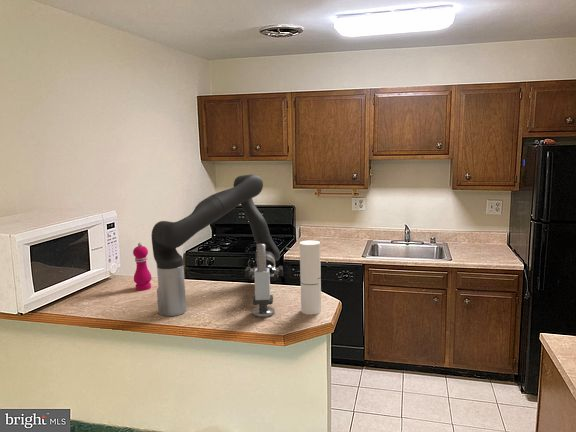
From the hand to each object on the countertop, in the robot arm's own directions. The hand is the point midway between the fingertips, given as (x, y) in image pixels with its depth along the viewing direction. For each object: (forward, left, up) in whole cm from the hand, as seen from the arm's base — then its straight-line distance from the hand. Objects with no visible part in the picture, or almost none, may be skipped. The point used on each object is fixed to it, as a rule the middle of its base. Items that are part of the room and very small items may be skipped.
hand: (263, 277), depth 163 cm
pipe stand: (0, -5, -12) cm, 13 cm away
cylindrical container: (+17, -4, -12) cm, 21 cm away
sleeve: (0, -5, -6) cm, 8 cm away
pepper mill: (-53, +28, -12) cm, 61 cm away
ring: (0, -5, -7) cm, 8 cm away
